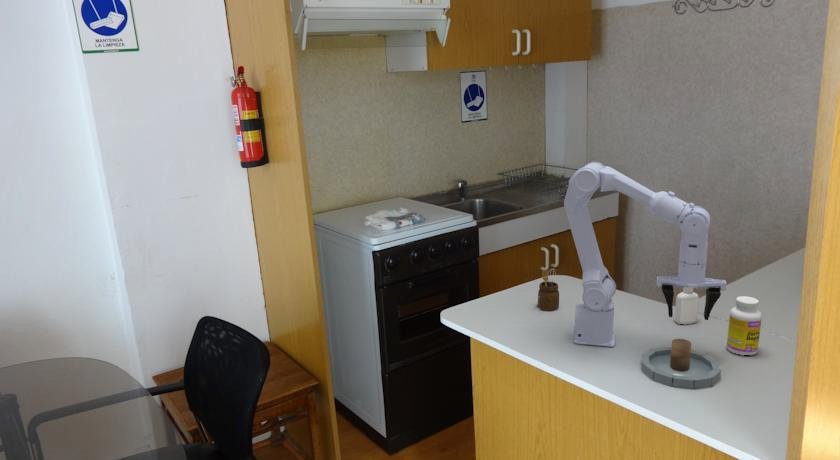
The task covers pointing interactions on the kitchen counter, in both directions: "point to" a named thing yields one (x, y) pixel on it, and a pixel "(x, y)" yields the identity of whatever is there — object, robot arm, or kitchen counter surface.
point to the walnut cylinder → (680, 355)
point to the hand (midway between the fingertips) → (688, 317)
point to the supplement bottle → (744, 326)
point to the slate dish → (698, 376)
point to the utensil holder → (548, 294)
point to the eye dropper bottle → (686, 307)
